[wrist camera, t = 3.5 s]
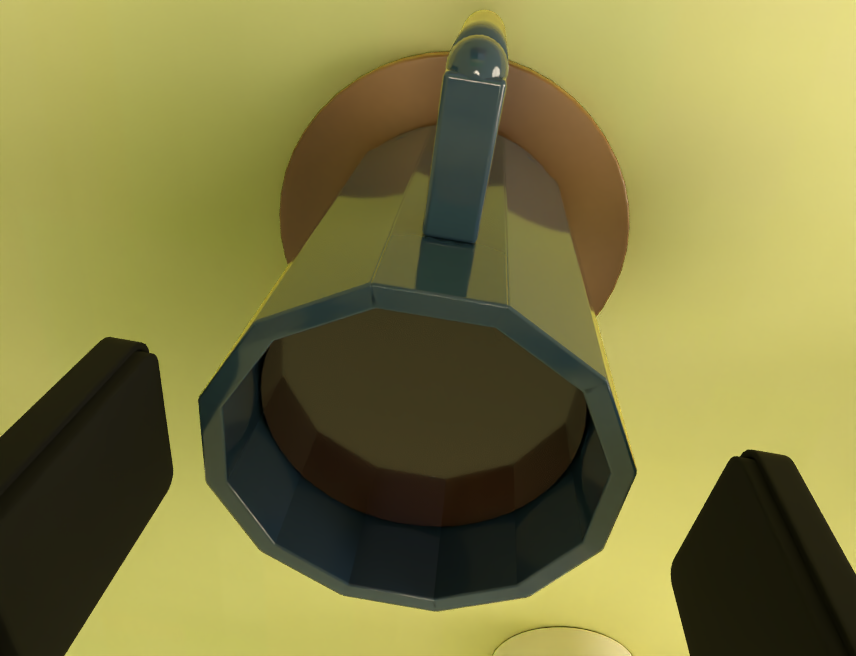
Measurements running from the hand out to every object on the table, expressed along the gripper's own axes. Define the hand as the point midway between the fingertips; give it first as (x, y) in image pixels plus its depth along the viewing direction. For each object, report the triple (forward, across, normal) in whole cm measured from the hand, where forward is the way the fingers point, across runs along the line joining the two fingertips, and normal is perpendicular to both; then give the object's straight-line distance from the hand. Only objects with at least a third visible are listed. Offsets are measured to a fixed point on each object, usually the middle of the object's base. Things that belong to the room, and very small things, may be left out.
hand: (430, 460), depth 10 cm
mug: (+9, 0, -1) cm, 9 cm away
